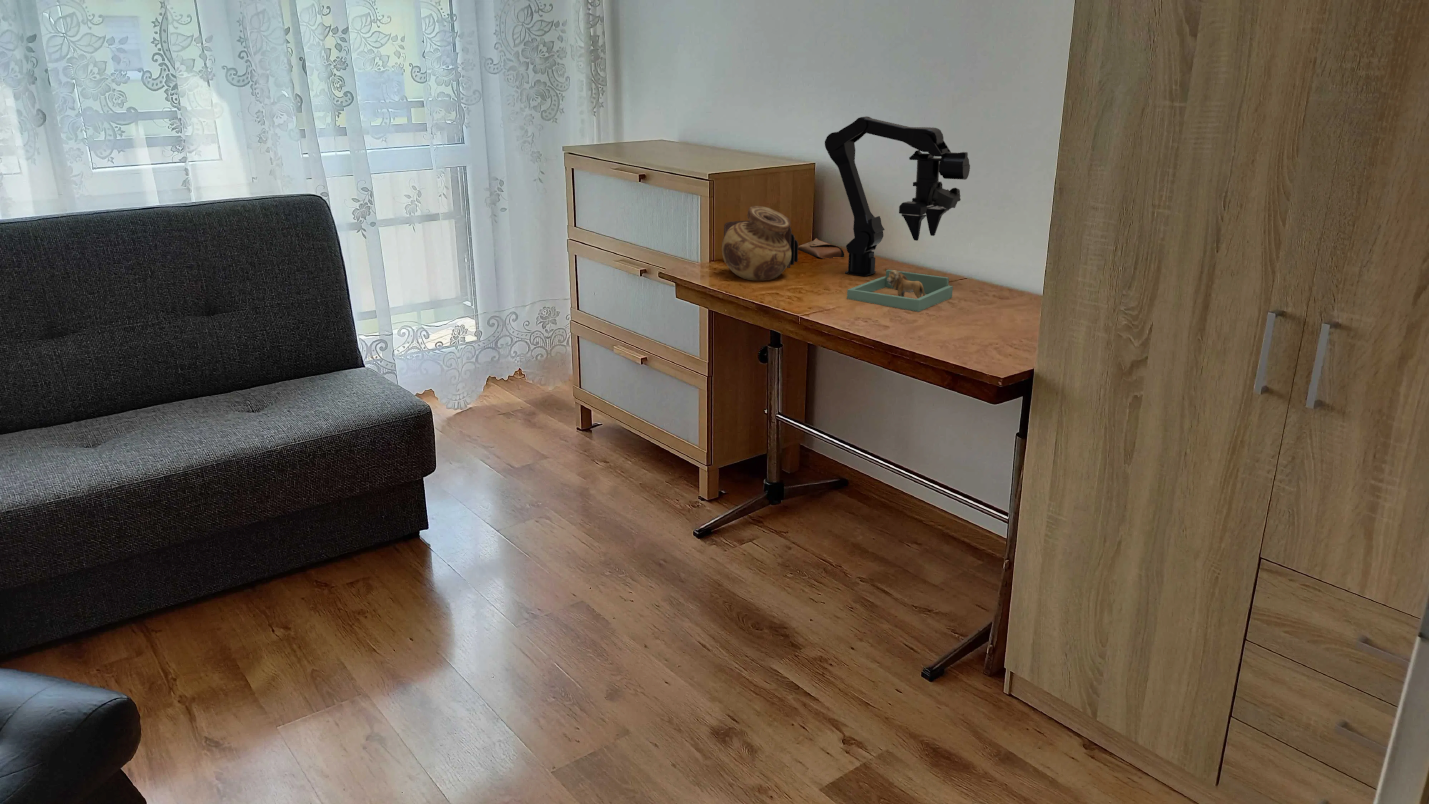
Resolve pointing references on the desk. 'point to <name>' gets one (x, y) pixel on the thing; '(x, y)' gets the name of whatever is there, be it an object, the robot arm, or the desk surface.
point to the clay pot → (758, 245)
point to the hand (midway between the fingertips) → (924, 238)
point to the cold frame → (932, 286)
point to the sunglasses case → (821, 249)
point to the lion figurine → (904, 284)
